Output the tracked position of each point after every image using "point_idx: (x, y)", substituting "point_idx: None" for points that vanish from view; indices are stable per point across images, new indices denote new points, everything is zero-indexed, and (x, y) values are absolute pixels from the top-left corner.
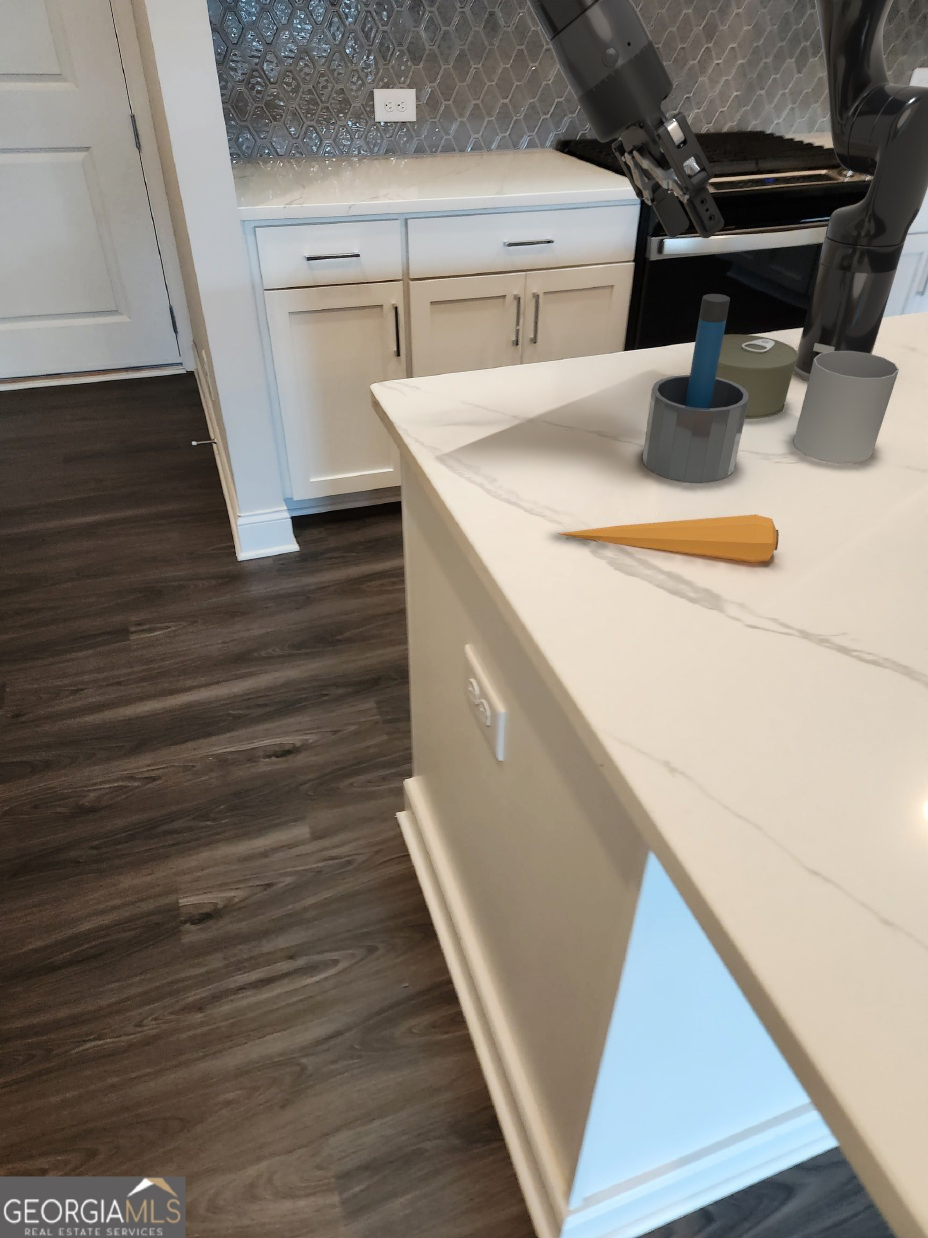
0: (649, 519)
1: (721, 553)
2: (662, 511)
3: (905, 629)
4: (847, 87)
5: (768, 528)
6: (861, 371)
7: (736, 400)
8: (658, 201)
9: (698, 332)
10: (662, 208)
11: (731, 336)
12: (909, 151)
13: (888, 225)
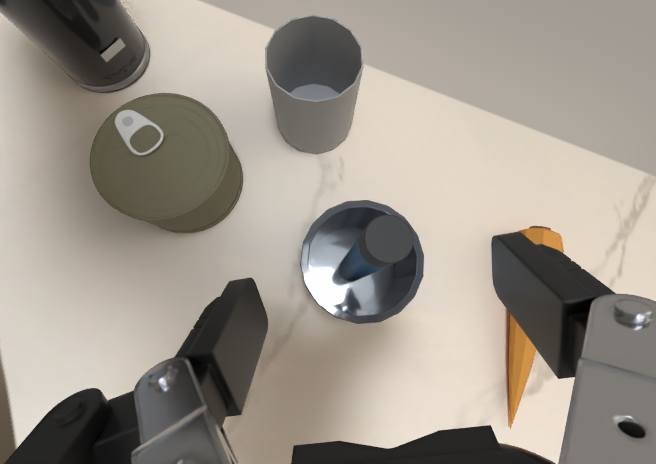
0: (466, 327)
1: None
2: (449, 311)
3: (602, 164)
4: None
5: (559, 238)
6: (278, 49)
7: (348, 212)
8: (226, 401)
9: (383, 268)
10: (243, 378)
11: (95, 159)
12: None
13: None
